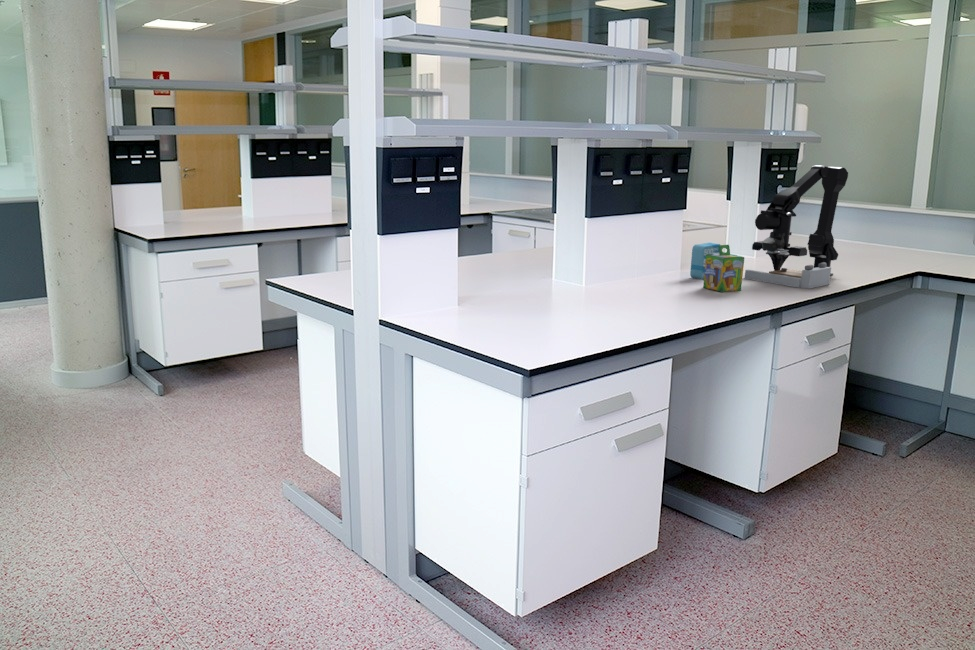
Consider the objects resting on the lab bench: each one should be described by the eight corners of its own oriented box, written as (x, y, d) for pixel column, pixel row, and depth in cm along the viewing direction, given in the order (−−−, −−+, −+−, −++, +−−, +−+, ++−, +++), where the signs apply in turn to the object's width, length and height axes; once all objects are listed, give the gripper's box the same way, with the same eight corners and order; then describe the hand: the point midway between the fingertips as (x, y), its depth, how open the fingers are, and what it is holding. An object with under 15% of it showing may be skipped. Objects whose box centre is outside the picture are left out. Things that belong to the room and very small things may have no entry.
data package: (700, 280, 281) (703, 246, 278) (689, 278, 284) (692, 244, 282) (718, 276, 289) (721, 243, 286) (708, 274, 292) (711, 242, 289)
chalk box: (721, 292, 259) (725, 248, 256) (702, 287, 267) (705, 244, 264) (742, 290, 264) (746, 246, 260) (722, 285, 271) (726, 242, 268)
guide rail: (747, 277, 288) (747, 269, 287) (801, 287, 272) (802, 278, 271) (744, 278, 287) (745, 269, 286) (798, 287, 271) (799, 278, 270)
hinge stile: (820, 282, 280) (823, 261, 278) (829, 284, 278) (831, 262, 276) (800, 287, 272) (802, 265, 270) (808, 288, 269) (811, 266, 268)
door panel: (784, 279, 289) (785, 265, 288) (818, 285, 279) (819, 271, 278) (767, 282, 282) (769, 268, 281) (801, 288, 273) (803, 274, 271)
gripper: (745, 227, 284) (741, 270, 288) (793, 233, 271) (788, 278, 274) (762, 225, 291) (758, 267, 295) (810, 231, 278) (805, 275, 281)
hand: (776, 272), depth 286 cm, fingers closed
